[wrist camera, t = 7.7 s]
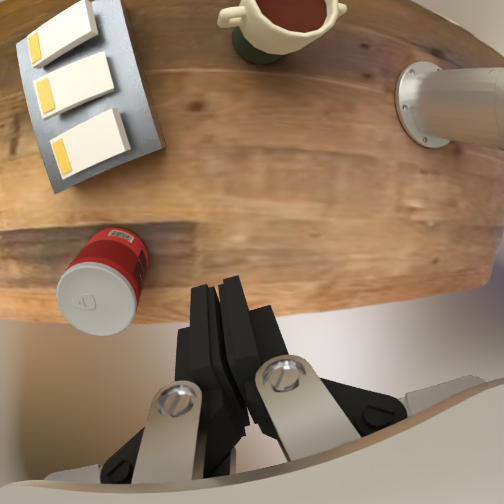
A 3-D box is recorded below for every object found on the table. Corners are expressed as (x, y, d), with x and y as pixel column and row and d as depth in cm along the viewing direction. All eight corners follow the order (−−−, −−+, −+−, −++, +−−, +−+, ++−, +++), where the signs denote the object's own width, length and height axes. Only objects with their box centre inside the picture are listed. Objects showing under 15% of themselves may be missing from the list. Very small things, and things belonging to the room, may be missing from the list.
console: (126, 7, 23) (116, -12, 18) (166, 145, 31) (161, 149, 26) (32, 53, 23) (10, 44, 18) (69, 186, 30) (49, 197, 25)
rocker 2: (104, 55, 22) (104, 50, 20) (114, 91, 23) (114, 87, 22) (36, 84, 20) (32, 80, 18) (45, 120, 21) (42, 118, 20)
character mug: (298, 11, 27) (348, -33, 15) (311, 63, 30) (369, 38, 18) (204, 21, 26) (213, -33, 14) (217, 76, 29) (232, 46, 17)
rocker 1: (91, 2, 18) (83, -2, 16) (98, 34, 19) (90, 30, 18) (35, 38, 18) (26, 36, 17) (40, 68, 20) (31, 67, 19)
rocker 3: (118, 108, 23) (111, 108, 21) (131, 149, 25) (124, 151, 23) (57, 138, 23) (48, 140, 22) (70, 176, 25) (61, 179, 24)
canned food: (77, 239, 33) (41, 282, 23) (133, 214, 33) (110, 251, 23) (105, 292, 36) (82, 346, 26) (159, 271, 36) (150, 324, 26)
